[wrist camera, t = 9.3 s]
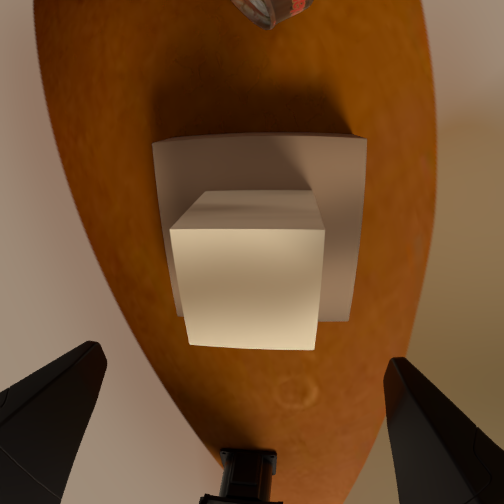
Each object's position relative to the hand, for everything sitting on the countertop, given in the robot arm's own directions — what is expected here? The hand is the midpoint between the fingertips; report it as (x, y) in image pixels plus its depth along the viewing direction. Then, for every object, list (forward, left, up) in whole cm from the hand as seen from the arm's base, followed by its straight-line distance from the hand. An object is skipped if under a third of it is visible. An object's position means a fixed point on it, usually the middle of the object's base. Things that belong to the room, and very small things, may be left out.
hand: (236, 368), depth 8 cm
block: (+1, 0, -8) cm, 8 cm away
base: (+1, 0, -11) cm, 11 cm away
